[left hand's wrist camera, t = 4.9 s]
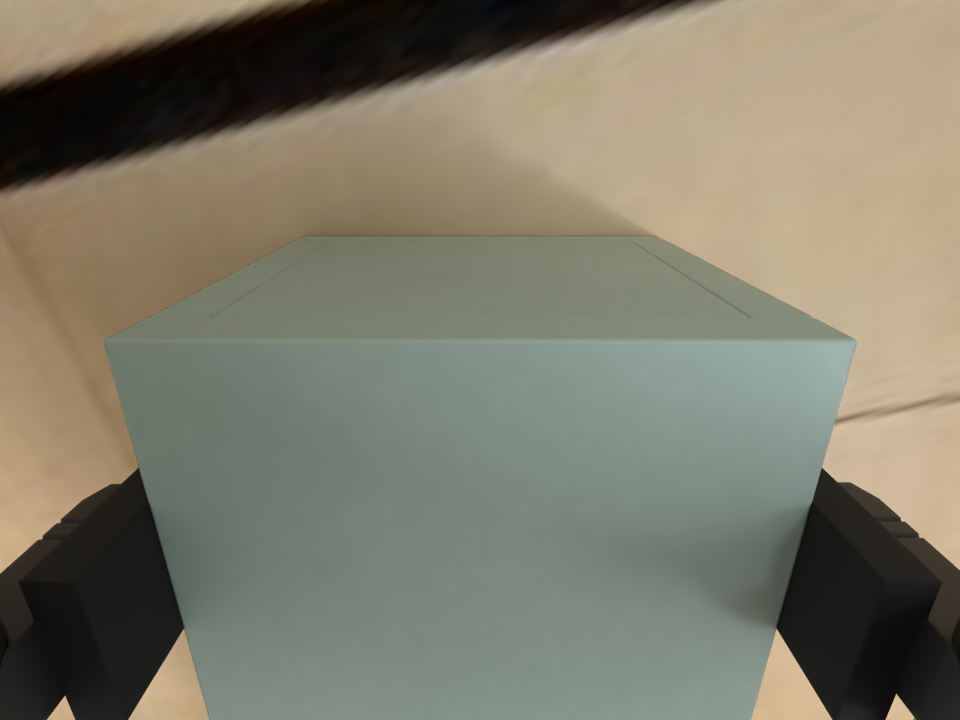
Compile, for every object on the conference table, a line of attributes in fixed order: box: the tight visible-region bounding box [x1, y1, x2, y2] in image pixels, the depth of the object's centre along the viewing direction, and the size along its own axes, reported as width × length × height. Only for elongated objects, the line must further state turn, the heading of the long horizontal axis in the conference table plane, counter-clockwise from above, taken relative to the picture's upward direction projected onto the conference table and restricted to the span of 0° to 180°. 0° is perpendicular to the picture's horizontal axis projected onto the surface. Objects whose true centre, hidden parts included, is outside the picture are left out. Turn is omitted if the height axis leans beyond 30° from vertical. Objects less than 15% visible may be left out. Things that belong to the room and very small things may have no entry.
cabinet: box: [104, 236, 856, 720], centre depth 16 cm, size 22×11×9 cm, turn 0°
